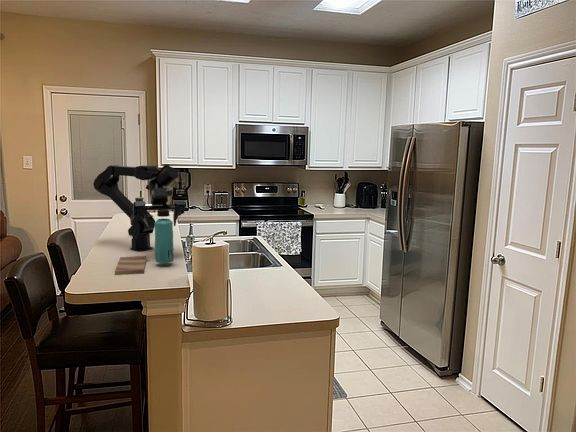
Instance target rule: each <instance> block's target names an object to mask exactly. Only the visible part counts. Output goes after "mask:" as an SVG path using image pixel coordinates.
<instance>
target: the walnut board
mask: <svg viewBox="0 0 576 432" xmlns="http://www.w3.org/2000/svg"><path fill="white" fill-rule="evenodd" d="M146 262H147V255H137V256H120V258H119V260H118V261H117V265H116V267H115V270H114V275H116V276H117V275H133V274H134V275H135V274H136V275H137V274H139V275H140V274H144V273H145V267H146Z"/></svg>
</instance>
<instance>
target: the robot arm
mask: <svg viewBox="0 0 576 432" xmlns="http://www.w3.org/2000/svg"><path fill="white" fill-rule="evenodd" d="M120 176H122V177H123V176H124V177H132V178H135V179H136V180H137V179H138V180H140V181H149V182H148V183H147V185H146V186H145V189H146V190H148V191H149V198H150V204H146V205H145V203H146V201H144V200H143V201H136V200H134V202H132V201H131V200H130V199H129V198H128V197H127V196H126V195H125V194H124V193H123V192H122V191H121V190H120V189H119V181H120ZM178 178H179V171H178V170H176V169H175V168H173V166H171V164H164V165H163V166H162V167H161V169H159V168H157V166H156V165H154V164H153V165H152V164H149V165H138V166H128V165H127V166H126V165H119V164H114V165H108V166H107V167H106V168H105V170H103V171H102V172H100V173H99V174H98V175H97V176H96V178H94V181H93V183H92V184H93V188H94V189H95V191H96V192H98V193H99V194H101V195H104V196H105V197H108V198H109V199H110V200H111V201H112V202H113V203H114V204H115V205H116V206H118V208H119V209H120V210H121V211H122V212H123V213H124V214H125V215H126V216H127V217H128V218H129V221H130V226H129V228H128V229H127V233H128V235H129V236H130V237H132V238H131V247H130V248H129V249H130V250H133V251H137V252H142V251H149V250H152V249H153V247H152V246H151V234H153V233H154V231H155V224H154V223H155V222H156V220H155V218H154V215H152V214H151V213H150V212H149V211H158V210H169V211H172V212H173V213H172V219H173V221H172V222H173V227H176V224H177V220H178V218H179V217H180V216H181V215H184V214H185V212H186V206H187V204H186V201H184V200H181V199H180V200H177V199H176V200H174V201H173V203H172V204H168V202H169V199H168V197H172V196H173V187H172V186H170V185H171V184H173V183H174V182H175V181H176V180H177V179H178Z"/></svg>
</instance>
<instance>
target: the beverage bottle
mask: <svg viewBox="0 0 576 432" xmlns="http://www.w3.org/2000/svg"><path fill="white" fill-rule="evenodd" d="M157 217H159V218H158V219H156V220H155V223H154V224H155V227H154V257H155V258H154V260H155V262H156V263H157V264H170V263H172V262H173V263H174V260H175V259H174V257H175V255H174V254H175V253H174V250H175V248H174V230H173V228H174V221H172V220H171V219H170V218H165V217H170V210H157ZM160 217H162V218H160ZM163 217H164V218H163Z"/></svg>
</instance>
